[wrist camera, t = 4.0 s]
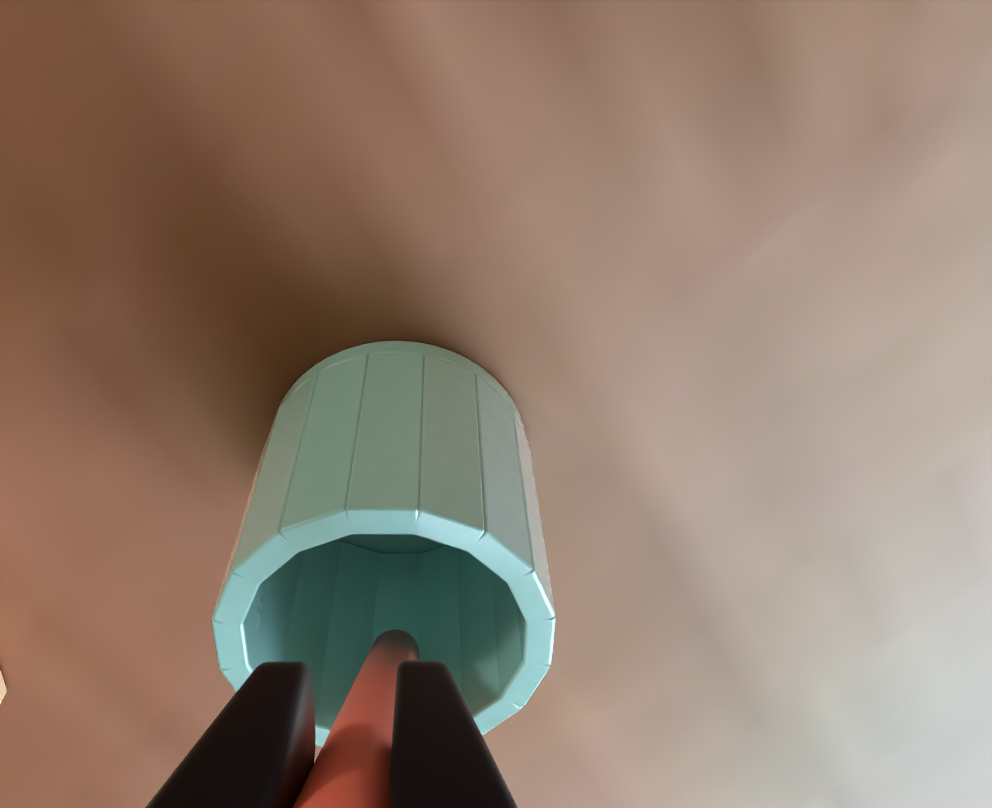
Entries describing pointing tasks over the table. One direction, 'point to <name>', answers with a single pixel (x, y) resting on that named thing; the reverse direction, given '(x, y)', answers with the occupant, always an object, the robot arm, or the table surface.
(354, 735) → the red thin rounded piece
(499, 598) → the cup
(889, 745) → the table surface
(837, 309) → the table surface
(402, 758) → the robot arm
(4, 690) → the tray
